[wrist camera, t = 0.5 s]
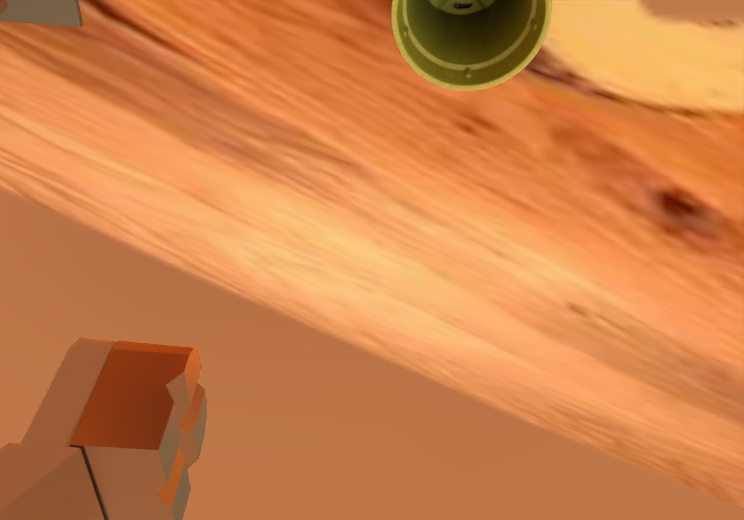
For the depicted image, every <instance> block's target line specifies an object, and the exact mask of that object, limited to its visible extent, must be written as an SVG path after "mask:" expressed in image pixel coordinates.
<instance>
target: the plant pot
mask: <svg viewBox="0 0 744 520" xmlns="http://www.w3.org/2000/svg"><path fill="white" fill-rule="evenodd" d="M454 3H459V4H468V3H472V5H471V7H470V8H461V9H459V8H455V7H454V6H453V4H454ZM551 11H552V1H551V0H393V1H392V8H391V23H392V30H393V34H394V38H395V41H396V44H397V46H398V49H399V51H400V53H401V55H402V56H403V58H404V59H405V61H406V62H407V63H408V65H409V66H410V67H411V68H412V69H413V70H414V71H415V72H416V73H417V74H418V75H420V76H421V77H422V78H424V79H425V80H427V81H429V82H430V83H432V84H435V85H437V86H440V87H443V88H446V89H450V90H456V91H475V90H481V89H486V88H489V87H492V86H495V85H498V84H500V83H502V82H504V81H506V80H508V79H509V78H511V77H513V76H514V75H516V74H517V73H518V72H520V71H521V70H522V69H523V68H524V67H525V66H526V65H527V64H528V63H529V62H530V61H531V60H532V59H533V58H534V56H535V55H536V54H537V52H538V51H539V49H540V47H541V46H542V44H543V42H544V40H545V37H546V34H547V32H548V28H549V25H550V20H551Z"/></svg>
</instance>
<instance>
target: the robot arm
mask: <svg viewBox="0 0 744 520" xmlns="http://www.w3.org/2000/svg"><path fill="white" fill-rule="evenodd" d="M201 368H202V365H201V360H200V354H199V350H198V349H196V348H190V347H179V346H167V345H157V344H147V343H136V342H126V341H109V340H98V339H86V338H79V339H78V340H77V341H76V342H75V343H74V344H73V345H72V346H71V347H70V348H69V350H68V352H67V354H66V356H65V357H64V359H63V361H62V363H61V366H60V367H59V369H58V371H57V374H56V375H55V377H54V379H53V381H52V383H51V385H50V387H49V389H48V391H47V393H46V395H45V397H44V399H43V401H42V403H41V405H40V407H39V409H38V411H37V413H36V415H35V417H34V419H33V421H32V423H31V425H30V427H29V429H28V431H27V433H26V435H25V437H24V438H23V440H22V443H8V444H6V445H5V446H4V447H2V448H1V449H0V520H182V519H183V516H184V512H185V509H186V505H187V501H188V498H189V494H190V490H191V487H190V482H189V476H188V470H187V469H188V468H189V467H190V466H191V465H193V464H194V463H195V462H196V461H197V460H198V459H199V456H200V452H201V448H202V444H203V440H204V433H205V425H206V417H207V405H206V404H207V401H206V393H205V389H204V388H203V387H202V386H201V385H200V384H198V383H197V382H198V379H199V375H200V371H201Z"/></svg>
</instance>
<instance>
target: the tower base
mask: <svg viewBox="0 0 744 520" xmlns="http://www.w3.org/2000/svg"><path fill="white" fill-rule="evenodd" d="M7 8H8V5H7V1H6V0H0V14H1V13H3V12H4V11H5V10H6V9H7Z"/></svg>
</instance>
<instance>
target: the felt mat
mask: <svg viewBox="0 0 744 520" xmlns="http://www.w3.org/2000/svg"><path fill="white" fill-rule="evenodd" d="M6 1H7V5H8V8H7V9H6V10H5V11H4V12H3V13H1V14H0V21H11V22H23V23H36V24H49V25H61V26H74V27H81V26H82V25H83V24H82V19H81V14H80V9H79V4H78V0H6Z"/></svg>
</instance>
